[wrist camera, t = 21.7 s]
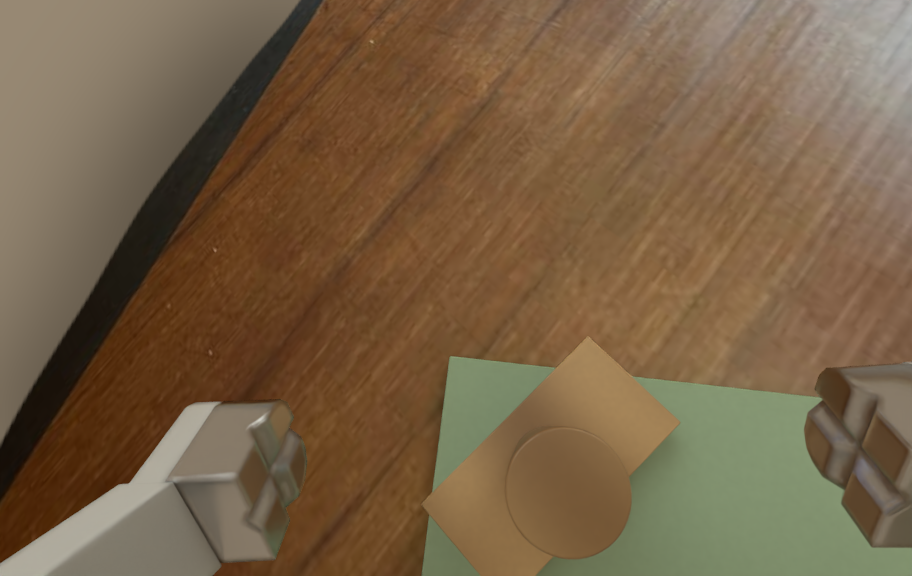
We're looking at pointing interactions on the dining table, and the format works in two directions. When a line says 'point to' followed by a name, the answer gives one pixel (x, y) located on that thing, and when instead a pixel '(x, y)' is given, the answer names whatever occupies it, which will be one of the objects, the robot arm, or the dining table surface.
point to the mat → (685, 485)
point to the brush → (553, 470)
